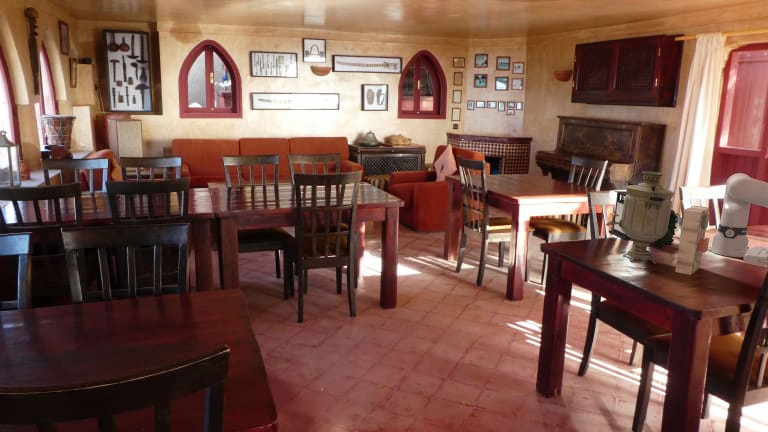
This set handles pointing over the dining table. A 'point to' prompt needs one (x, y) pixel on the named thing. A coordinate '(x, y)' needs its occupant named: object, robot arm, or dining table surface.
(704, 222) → the charcoal plug
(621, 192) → the lantern
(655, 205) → the samovar
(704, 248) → the terracotta plug
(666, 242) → the toy figurine
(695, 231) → the block
